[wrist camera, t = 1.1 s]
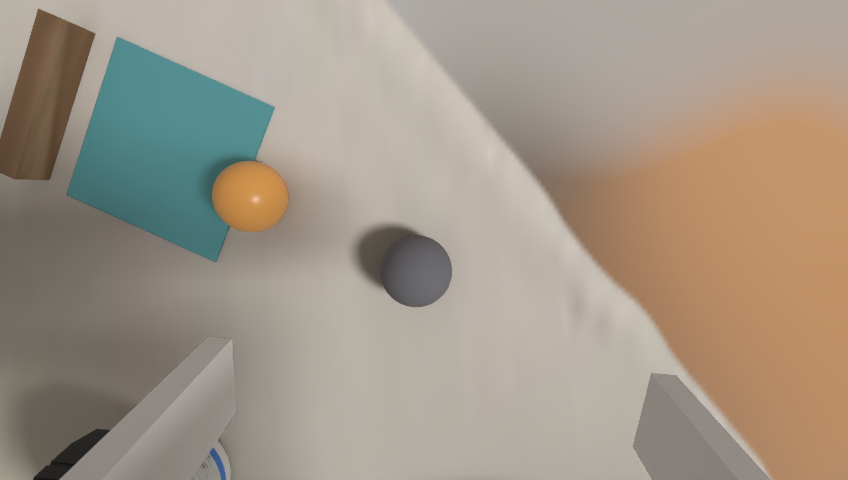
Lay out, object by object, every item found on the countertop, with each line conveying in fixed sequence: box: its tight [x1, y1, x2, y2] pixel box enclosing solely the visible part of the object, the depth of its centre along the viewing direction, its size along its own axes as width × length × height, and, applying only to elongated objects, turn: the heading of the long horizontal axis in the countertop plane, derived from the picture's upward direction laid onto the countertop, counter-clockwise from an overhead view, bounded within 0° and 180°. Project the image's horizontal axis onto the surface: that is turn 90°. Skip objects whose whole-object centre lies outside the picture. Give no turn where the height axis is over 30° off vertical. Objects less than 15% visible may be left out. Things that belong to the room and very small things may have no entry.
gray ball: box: [380, 235, 452, 307], centre depth 33 cm, size 6×6×6 cm
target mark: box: [67, 37, 275, 262], centre depth 36 cm, size 14×14×1 cm
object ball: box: [212, 161, 289, 232], centre depth 33 cm, size 6×6×6 cm
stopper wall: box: [0, 9, 95, 180], centre depth 35 cm, size 2×13×3 cm, turn 156°
